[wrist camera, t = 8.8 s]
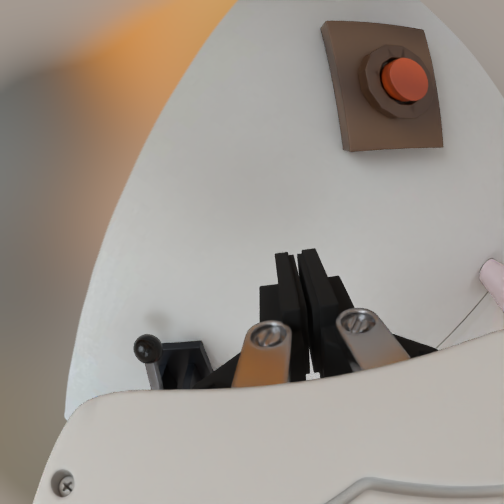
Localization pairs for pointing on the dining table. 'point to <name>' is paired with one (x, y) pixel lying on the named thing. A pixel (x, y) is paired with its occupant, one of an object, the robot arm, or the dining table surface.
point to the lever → (150, 358)
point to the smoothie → (494, 280)
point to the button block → (380, 87)
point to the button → (404, 80)
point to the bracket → (183, 365)
